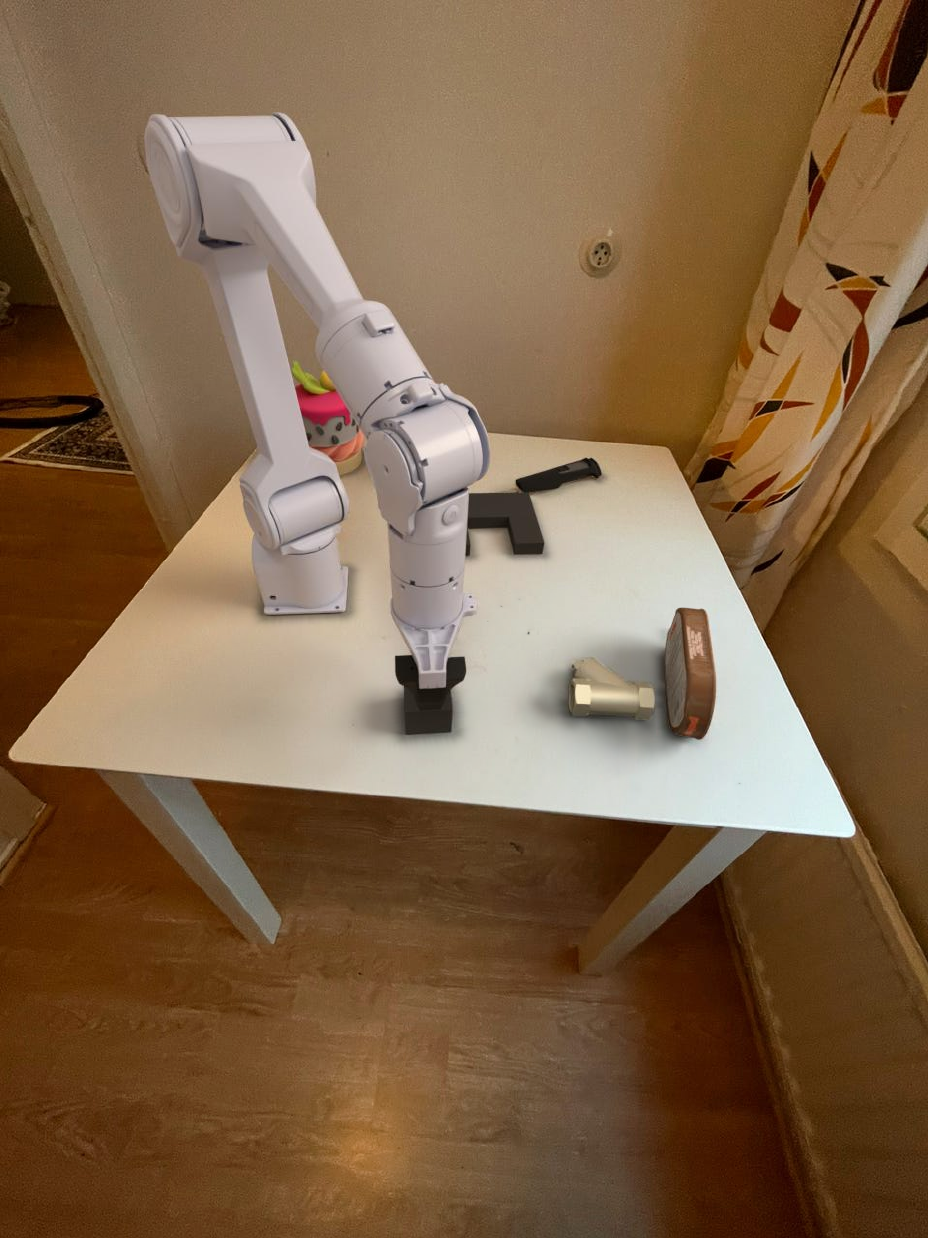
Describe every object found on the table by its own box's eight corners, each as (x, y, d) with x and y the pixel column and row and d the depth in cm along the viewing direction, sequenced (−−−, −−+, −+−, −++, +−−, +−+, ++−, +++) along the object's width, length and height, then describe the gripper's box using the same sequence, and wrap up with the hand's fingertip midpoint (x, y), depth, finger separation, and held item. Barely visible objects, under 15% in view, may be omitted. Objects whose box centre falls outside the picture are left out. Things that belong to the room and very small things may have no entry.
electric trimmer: (508, 490, 87) (510, 472, 85) (588, 467, 92) (592, 450, 90) (521, 503, 85) (523, 485, 83) (602, 479, 90) (606, 461, 88)
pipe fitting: (563, 673, 63) (570, 721, 58) (569, 648, 60) (577, 697, 55) (634, 677, 63) (647, 725, 58) (643, 652, 60) (657, 701, 55)
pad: (405, 735, 56) (404, 712, 53) (404, 697, 59) (403, 673, 56) (451, 732, 56) (452, 709, 53) (448, 695, 59) (449, 671, 56)
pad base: (440, 556, 75) (440, 545, 73) (434, 504, 83) (435, 493, 82) (542, 554, 76) (544, 542, 75) (527, 503, 85) (529, 492, 83)
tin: (695, 756, 56) (728, 707, 50) (663, 750, 56) (691, 700, 50) (684, 645, 66) (710, 593, 60) (657, 640, 66) (680, 588, 60)
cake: (351, 438, 95) (342, 347, 85) (373, 469, 89) (365, 374, 78) (290, 450, 92) (272, 356, 81) (308, 483, 85) (291, 386, 75)
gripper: (491, 629, 38) (478, 737, 48) (469, 506, 48) (462, 616, 58) (387, 634, 37) (396, 742, 47) (387, 507, 47) (394, 618, 57)
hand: (427, 673), depth 52 cm, fingers open, 7 cm apart
